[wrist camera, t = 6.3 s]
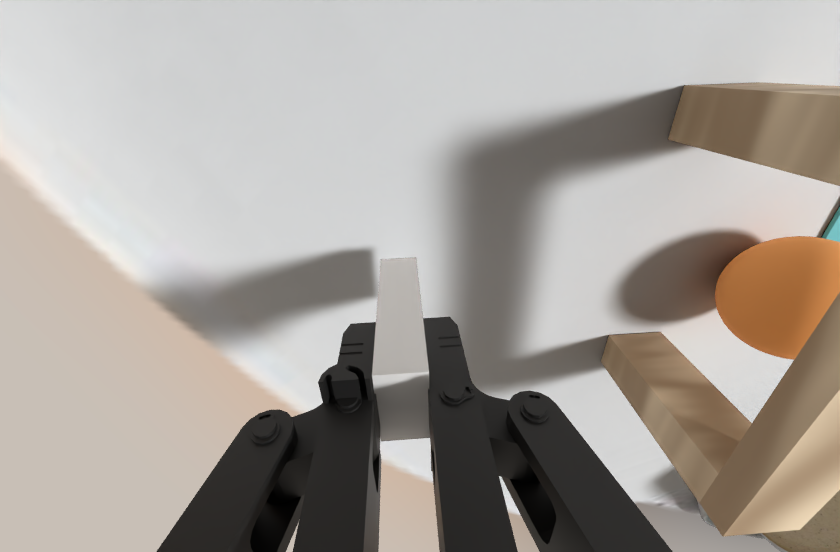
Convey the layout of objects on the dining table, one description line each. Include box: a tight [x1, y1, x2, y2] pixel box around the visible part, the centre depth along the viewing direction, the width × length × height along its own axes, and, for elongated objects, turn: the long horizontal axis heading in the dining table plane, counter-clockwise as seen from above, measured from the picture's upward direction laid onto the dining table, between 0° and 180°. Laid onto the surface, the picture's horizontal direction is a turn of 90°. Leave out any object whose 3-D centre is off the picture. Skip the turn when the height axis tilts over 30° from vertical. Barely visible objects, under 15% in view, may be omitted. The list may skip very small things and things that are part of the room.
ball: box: [715, 236, 840, 360], centre depth 16 cm, size 6×6×6 cm
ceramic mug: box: [697, 490, 840, 552], centre depth 26 cm, size 11×8×8 cm
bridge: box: [601, 83, 840, 536], centre depth 14 cm, size 3×14×9 cm, turn 2°
